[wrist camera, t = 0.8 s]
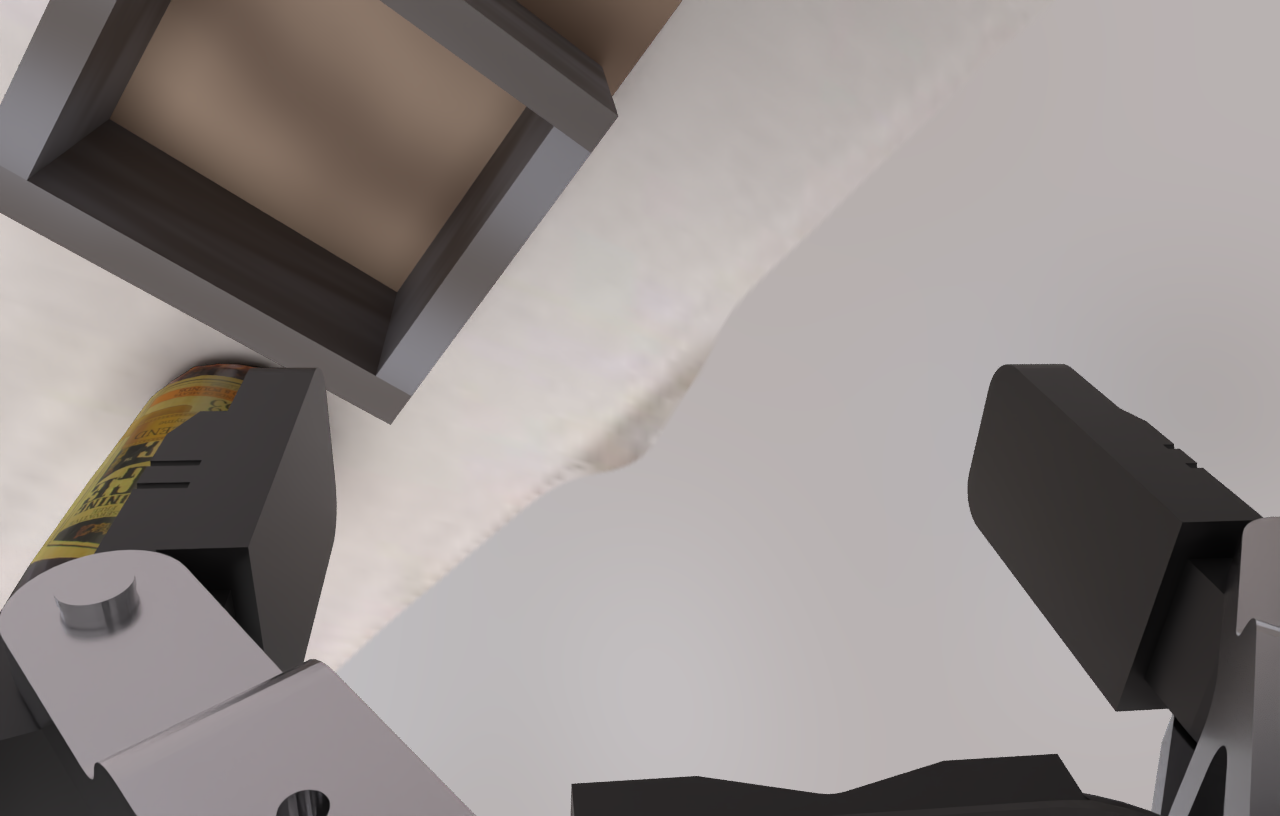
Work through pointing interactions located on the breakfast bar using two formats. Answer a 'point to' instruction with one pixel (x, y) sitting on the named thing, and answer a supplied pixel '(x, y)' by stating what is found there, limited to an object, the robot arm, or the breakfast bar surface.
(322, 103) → the bottle holder
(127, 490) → the sauce bottle
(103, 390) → the breakfast bar surface
